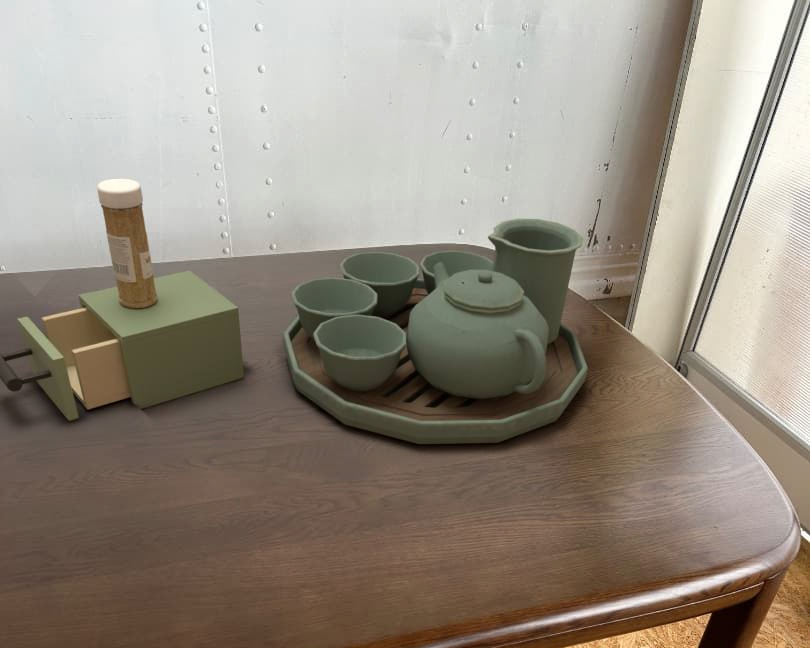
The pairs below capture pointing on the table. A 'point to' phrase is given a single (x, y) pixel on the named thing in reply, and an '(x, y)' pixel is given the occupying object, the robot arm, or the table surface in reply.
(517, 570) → the table surface
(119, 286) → the sprinkles bottle
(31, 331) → the drawer
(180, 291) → the cabinet
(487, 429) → the tea set
